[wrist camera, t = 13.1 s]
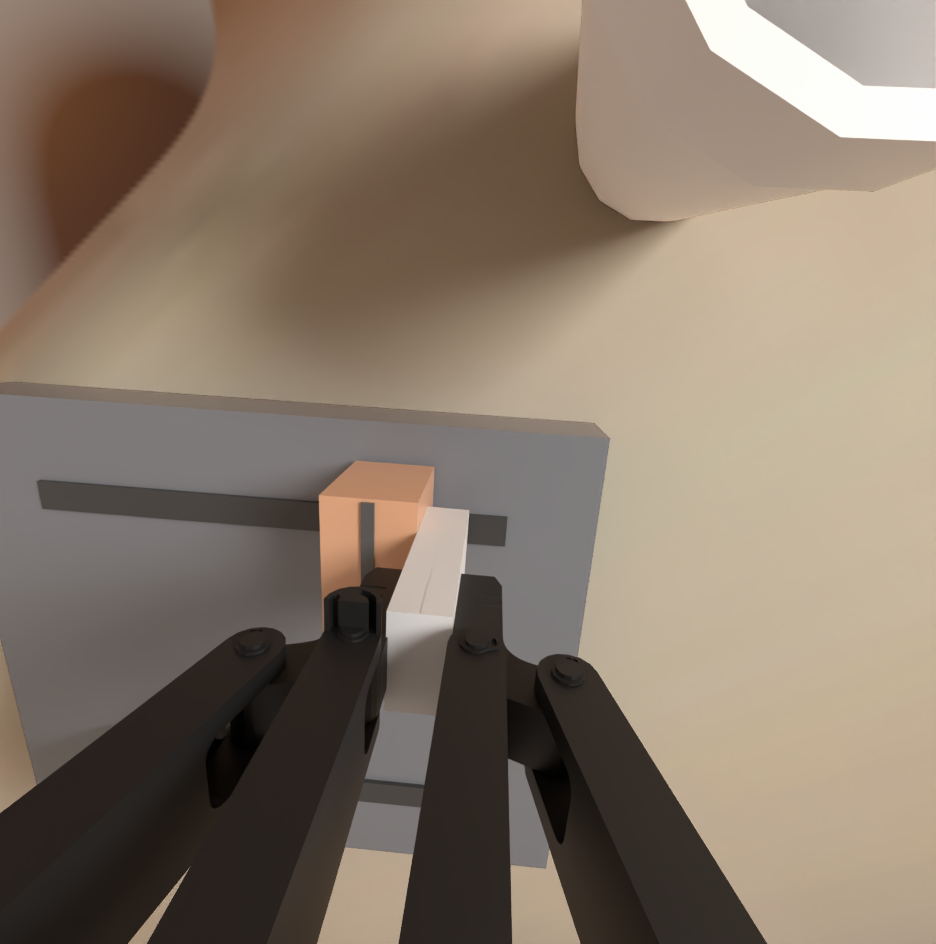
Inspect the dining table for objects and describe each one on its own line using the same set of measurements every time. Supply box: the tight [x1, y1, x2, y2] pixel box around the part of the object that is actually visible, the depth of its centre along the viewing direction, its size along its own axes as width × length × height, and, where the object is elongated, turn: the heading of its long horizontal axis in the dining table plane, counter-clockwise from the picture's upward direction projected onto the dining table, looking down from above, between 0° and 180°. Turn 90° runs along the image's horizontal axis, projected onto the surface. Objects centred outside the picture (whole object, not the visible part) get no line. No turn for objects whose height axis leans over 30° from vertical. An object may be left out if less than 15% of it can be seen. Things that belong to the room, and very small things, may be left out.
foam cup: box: [575, 0, 936, 222], centre depth 11 cm, size 10×9×13 cm
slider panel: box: [0, 382, 610, 869], centre depth 23 cm, size 22×26×3 cm
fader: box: [319, 461, 435, 632], centre depth 17 cm, size 5×3×4 cm, turn 176°
